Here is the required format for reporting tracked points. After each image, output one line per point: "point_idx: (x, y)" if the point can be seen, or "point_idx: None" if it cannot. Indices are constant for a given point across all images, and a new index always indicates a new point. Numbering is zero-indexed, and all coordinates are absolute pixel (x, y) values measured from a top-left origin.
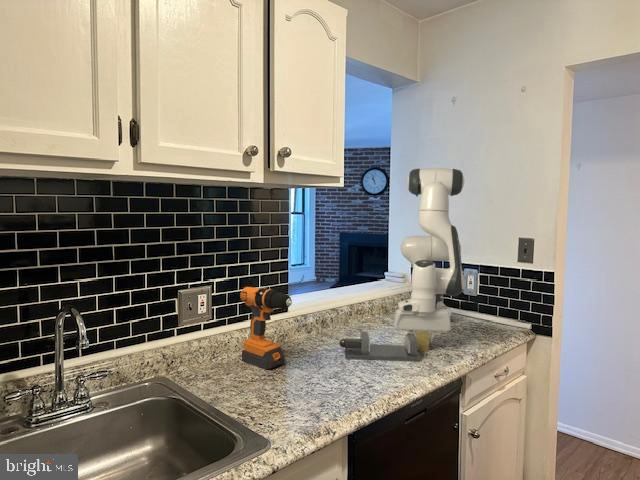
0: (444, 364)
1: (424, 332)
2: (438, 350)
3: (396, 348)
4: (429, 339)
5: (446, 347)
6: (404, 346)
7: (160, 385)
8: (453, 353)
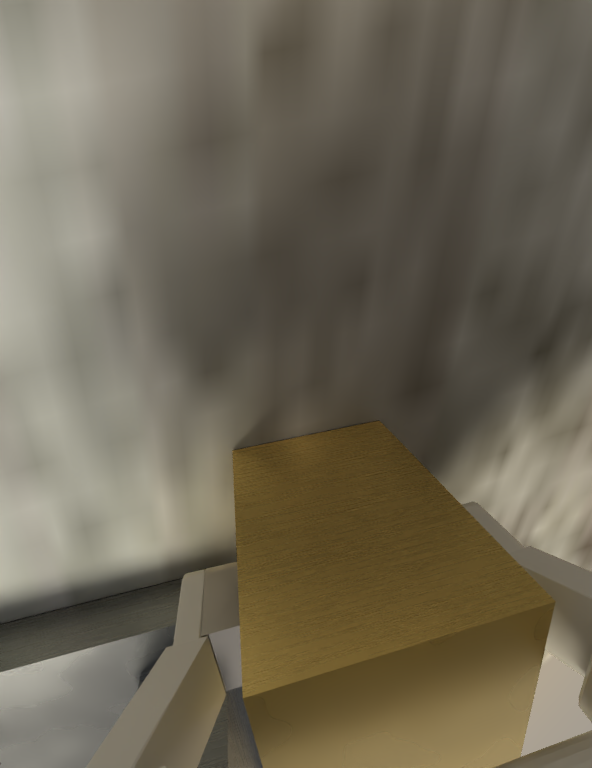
0: None
1: (466, 716)
2: (477, 492)
3: (32, 754)
4: None
5: (585, 377)
6: (117, 668)
7: None
8: (575, 520)
